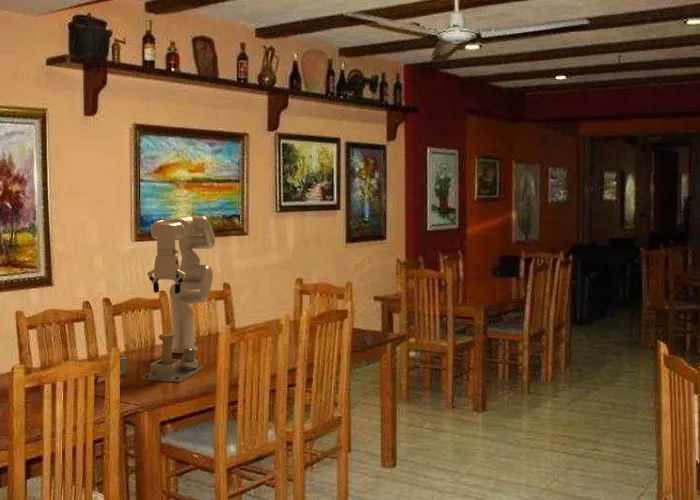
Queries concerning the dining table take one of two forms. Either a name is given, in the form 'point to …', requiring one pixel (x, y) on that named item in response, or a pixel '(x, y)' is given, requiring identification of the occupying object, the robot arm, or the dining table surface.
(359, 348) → the dining table surface
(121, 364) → the hinge
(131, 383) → the dining table surface
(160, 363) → the fitting
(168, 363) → the handle
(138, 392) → the dining table surface
